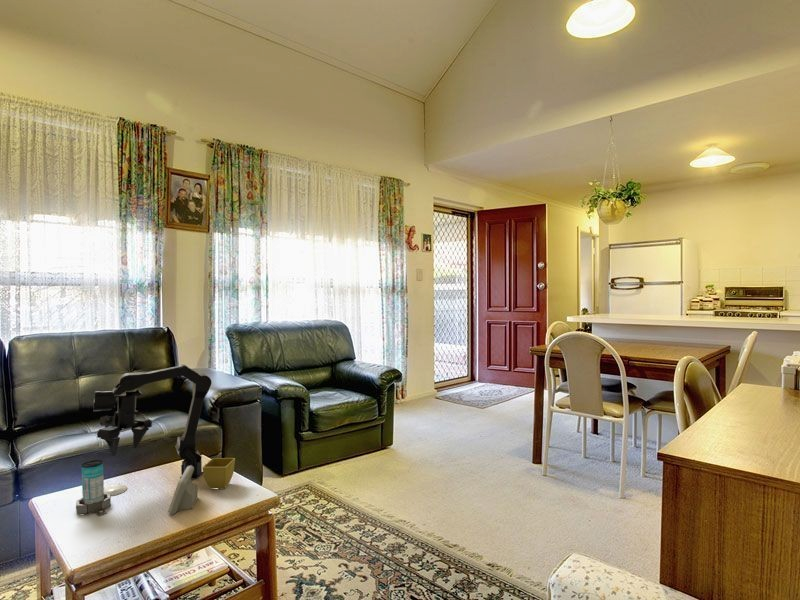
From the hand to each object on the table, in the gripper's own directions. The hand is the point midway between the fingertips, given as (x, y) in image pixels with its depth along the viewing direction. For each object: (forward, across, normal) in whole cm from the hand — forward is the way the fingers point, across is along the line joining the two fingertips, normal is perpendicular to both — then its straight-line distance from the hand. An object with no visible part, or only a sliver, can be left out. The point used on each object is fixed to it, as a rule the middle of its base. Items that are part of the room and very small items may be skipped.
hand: (124, 452), depth 170 cm
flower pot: (+12, -12, +32) cm, 36 cm away
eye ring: (+14, +13, +2) cm, 20 cm away
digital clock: (+13, +4, +29) cm, 32 cm away
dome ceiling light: (+14, +1, -4) cm, 15 cm away
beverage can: (+15, +13, +2) cm, 20 cm away
